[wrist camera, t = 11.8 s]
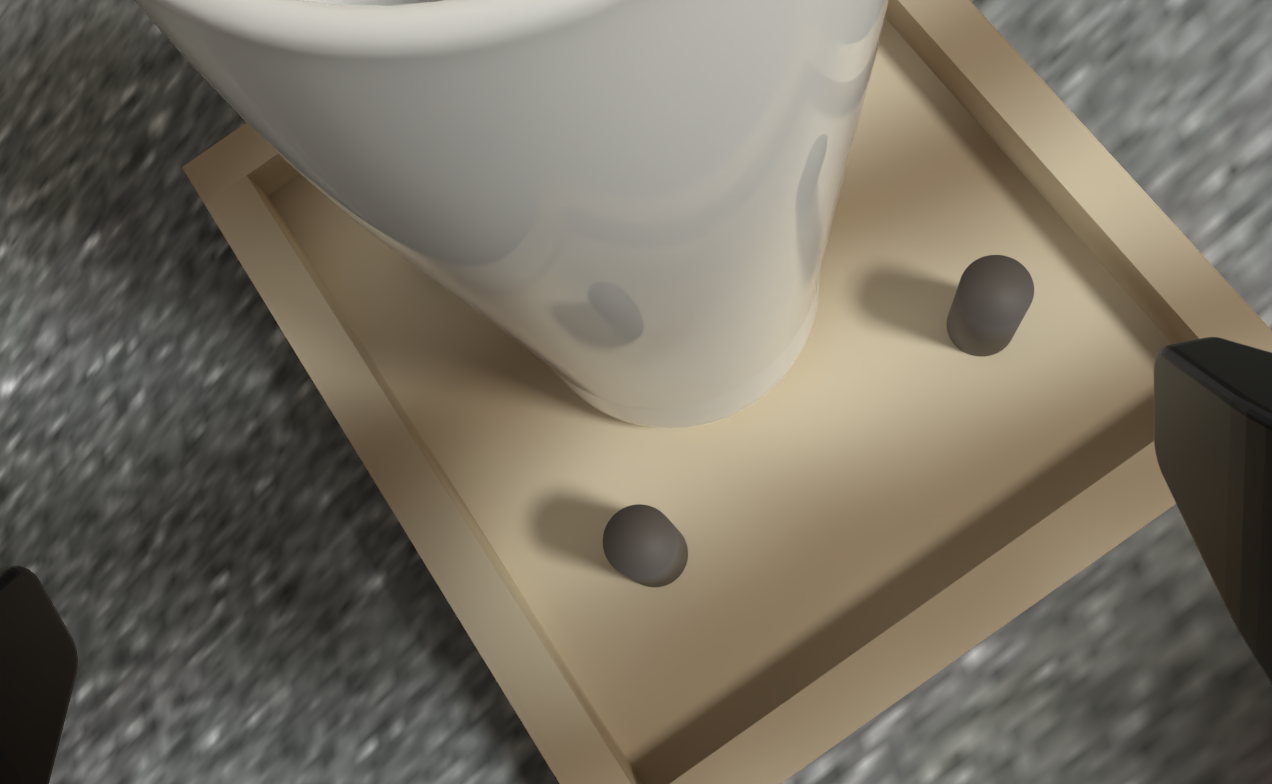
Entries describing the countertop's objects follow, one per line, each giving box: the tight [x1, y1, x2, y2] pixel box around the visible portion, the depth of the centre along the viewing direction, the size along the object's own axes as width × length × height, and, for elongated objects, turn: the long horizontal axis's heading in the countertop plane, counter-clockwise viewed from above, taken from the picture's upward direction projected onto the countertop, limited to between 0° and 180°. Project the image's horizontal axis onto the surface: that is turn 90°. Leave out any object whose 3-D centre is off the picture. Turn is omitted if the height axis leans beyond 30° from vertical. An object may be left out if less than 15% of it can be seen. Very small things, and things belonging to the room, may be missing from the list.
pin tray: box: [182, 0, 1272, 784], centre depth 22 cm, size 16×14×3 cm
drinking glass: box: [135, 0, 888, 429], centre depth 15 cm, size 7×7×15 cm
